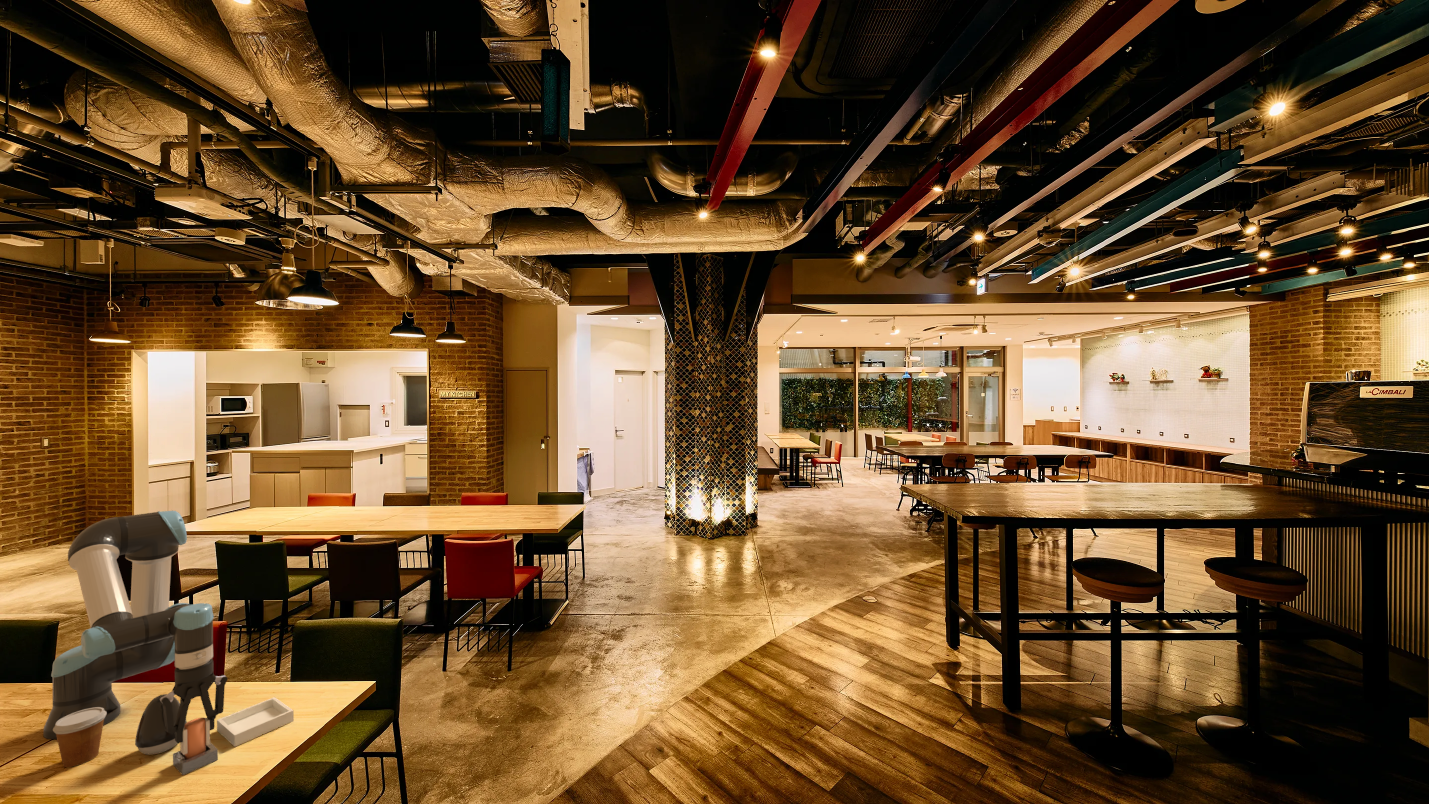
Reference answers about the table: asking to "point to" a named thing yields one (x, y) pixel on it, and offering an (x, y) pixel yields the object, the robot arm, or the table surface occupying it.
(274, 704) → the dock cradle
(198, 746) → the pin
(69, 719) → the disposable coffee cup
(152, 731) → the dark piece
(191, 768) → the pin mount
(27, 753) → the table surface
